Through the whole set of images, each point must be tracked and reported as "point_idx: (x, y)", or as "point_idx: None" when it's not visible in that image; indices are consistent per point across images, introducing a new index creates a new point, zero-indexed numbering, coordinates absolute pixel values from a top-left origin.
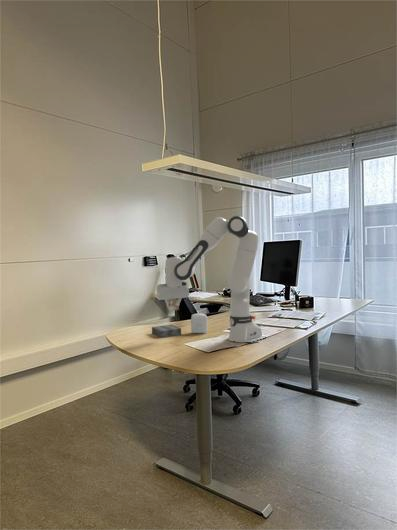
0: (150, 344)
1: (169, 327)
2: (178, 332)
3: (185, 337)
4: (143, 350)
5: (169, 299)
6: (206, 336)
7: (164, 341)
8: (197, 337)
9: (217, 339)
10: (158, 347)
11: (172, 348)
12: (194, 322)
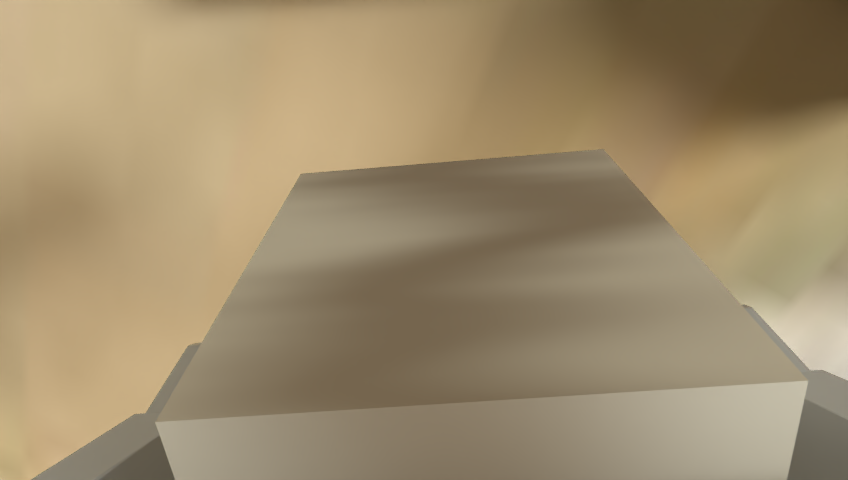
0: (102, 222)
1: None
2: None
3: (595, 133)
4: (19, 381)
5: (306, 432)
6: (842, 221)
7: (285, 181)
8: (721, 209)
9: None
10: (174, 360)
11: None
12: None
